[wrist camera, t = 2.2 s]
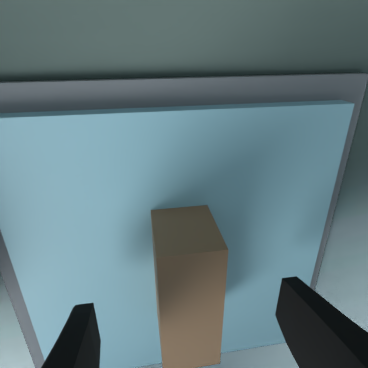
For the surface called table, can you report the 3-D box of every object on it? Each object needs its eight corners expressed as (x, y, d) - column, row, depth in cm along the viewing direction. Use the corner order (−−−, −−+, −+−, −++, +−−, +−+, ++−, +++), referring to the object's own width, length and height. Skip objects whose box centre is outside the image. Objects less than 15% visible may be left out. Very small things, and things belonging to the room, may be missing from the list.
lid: (289, 329, 18) (326, 394, 15) (54, 366, 16) (35, 451, 13) (341, 99, 12) (422, 122, 9) (-25, 114, 10) (-103, 149, 7)
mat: (299, 332, 19) (302, 337, 19) (41, 373, 17) (40, 380, 17) (362, 73, 12) (369, 73, 12) (-62, 83, 10) (-68, 84, 10)
